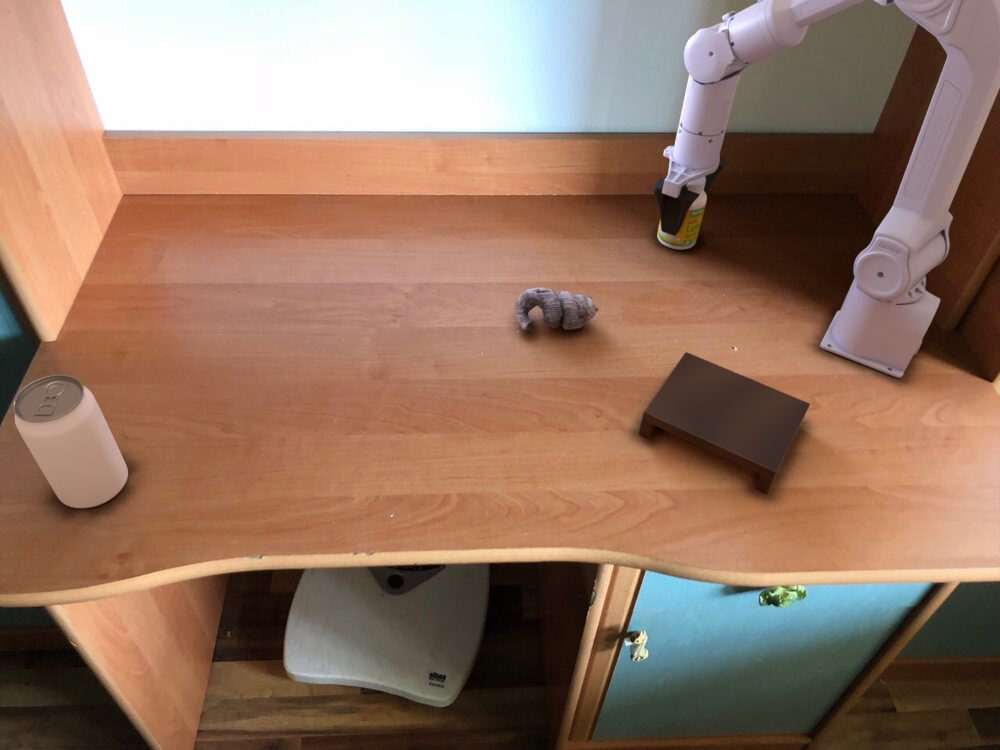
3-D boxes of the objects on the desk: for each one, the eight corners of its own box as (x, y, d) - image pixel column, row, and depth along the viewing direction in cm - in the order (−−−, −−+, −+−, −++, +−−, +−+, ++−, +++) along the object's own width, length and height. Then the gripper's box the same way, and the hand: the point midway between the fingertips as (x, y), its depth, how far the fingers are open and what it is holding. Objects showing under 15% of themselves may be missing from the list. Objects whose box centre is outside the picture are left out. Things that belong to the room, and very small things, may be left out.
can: (138, 457, 79) (99, 370, 70) (117, 510, 74) (74, 425, 66) (71, 457, 78) (24, 370, 70) (46, 511, 74) (-7, 425, 65)
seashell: (513, 334, 96) (594, 334, 97) (518, 326, 90) (604, 325, 92) (511, 291, 96) (592, 291, 98) (517, 280, 91) (602, 280, 92)
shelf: (800, 425, 85) (810, 403, 83) (766, 494, 78) (776, 472, 76) (679, 374, 90) (685, 351, 88) (638, 434, 83) (643, 411, 81)
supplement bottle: (684, 255, 107) (699, 192, 100) (649, 240, 109) (662, 177, 102) (702, 238, 110) (718, 175, 103) (668, 223, 112) (681, 161, 105)
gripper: (695, 94, 103) (674, 186, 113) (648, 138, 94) (630, 234, 104) (746, 110, 101) (721, 202, 110) (703, 156, 92) (680, 252, 101)
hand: (680, 219), depth 107 cm, fingers open, 7 cm apart
